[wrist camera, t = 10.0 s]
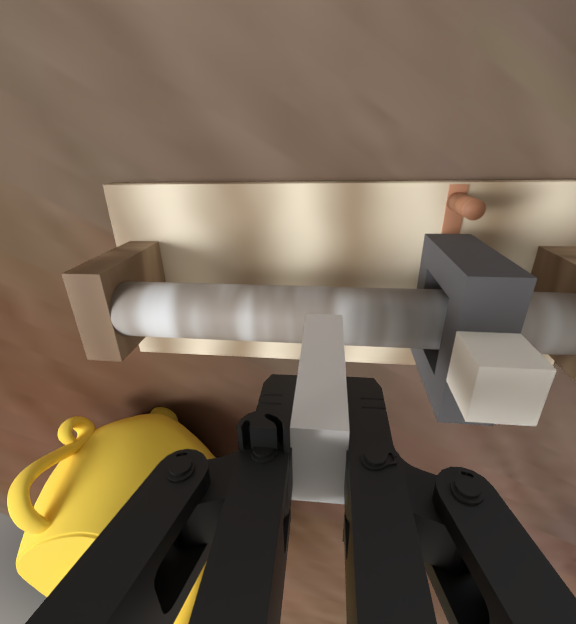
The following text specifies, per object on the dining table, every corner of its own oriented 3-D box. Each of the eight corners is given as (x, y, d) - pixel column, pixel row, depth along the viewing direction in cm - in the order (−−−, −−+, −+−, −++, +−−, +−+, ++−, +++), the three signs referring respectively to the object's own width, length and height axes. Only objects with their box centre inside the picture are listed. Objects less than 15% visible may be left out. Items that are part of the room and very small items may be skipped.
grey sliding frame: (408, 343, 22) (454, 467, 14) (424, 233, 19) (495, 303, 11) (448, 345, 22) (519, 472, 14) (470, 233, 19) (580, 306, 11)
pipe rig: (146, 344, 28) (86, 409, 21) (111, 183, 23) (17, 200, 16) (542, 363, 25) (622, 446, 18) (605, 179, 20) (750, 198, 13)
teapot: (151, 353, 28) (26, 496, 17) (292, 506, 34) (270, 689, 23) (49, 418, 33) (-104, 564, 21) (188, 543, 39) (127, 711, 27)
